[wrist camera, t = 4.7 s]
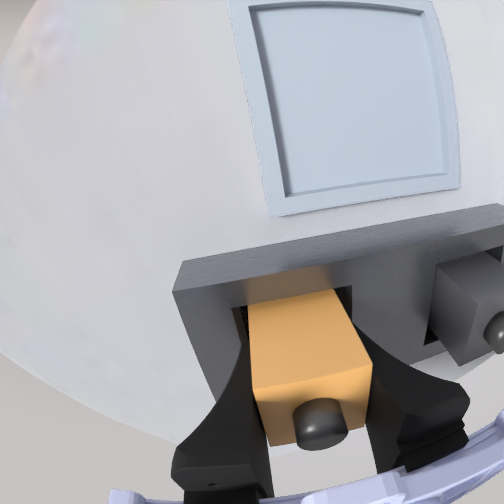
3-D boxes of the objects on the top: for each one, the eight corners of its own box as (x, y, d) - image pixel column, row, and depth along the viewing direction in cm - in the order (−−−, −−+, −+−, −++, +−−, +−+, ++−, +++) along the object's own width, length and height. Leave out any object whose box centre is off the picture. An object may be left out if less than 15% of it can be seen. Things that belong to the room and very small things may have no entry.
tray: (422, 5, 10) (432, 0, 9) (449, 183, 14) (459, 188, 13) (227, 2, 10) (226, -5, 9) (268, 211, 14) (270, 218, 14)
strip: (497, 203, 15) (527, 218, 12) (481, 304, 18) (502, 325, 15) (182, 261, 15) (171, 291, 13) (219, 370, 19) (217, 406, 16)
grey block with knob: (465, 238, 16) (541, 294, 9) (457, 291, 17) (518, 354, 11) (417, 249, 16) (493, 318, 9) (412, 305, 17) (469, 381, 11)
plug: (328, 279, 14) (385, 389, 8) (331, 341, 16) (371, 448, 9) (247, 295, 15) (254, 418, 8) (260, 355, 16) (272, 470, 9)
